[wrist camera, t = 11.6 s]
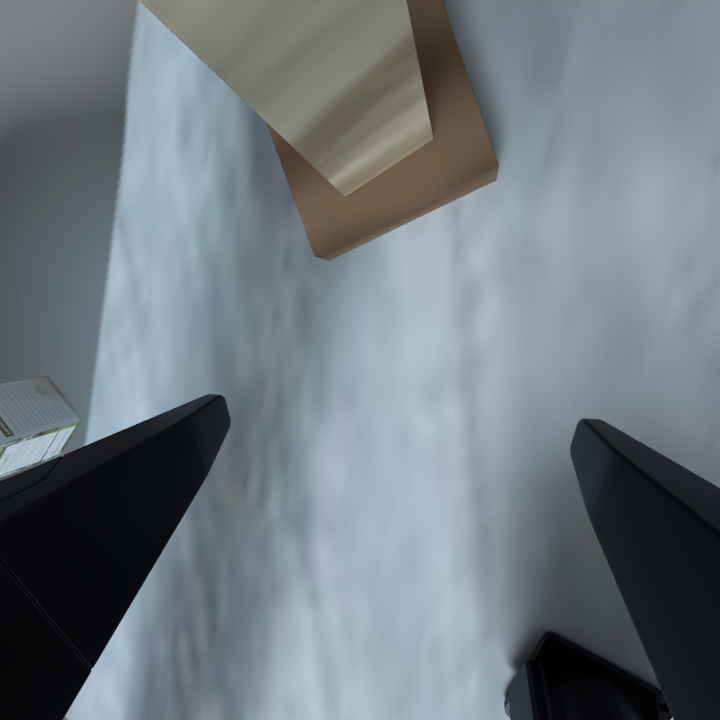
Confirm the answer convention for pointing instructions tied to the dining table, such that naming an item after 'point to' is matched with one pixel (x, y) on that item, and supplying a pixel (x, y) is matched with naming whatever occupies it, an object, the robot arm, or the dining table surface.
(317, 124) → the maple block
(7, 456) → the syrup box
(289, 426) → the dining table surface
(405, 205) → the walnut block
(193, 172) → the dining table surface
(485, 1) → the dining table surface
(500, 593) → the dining table surface
